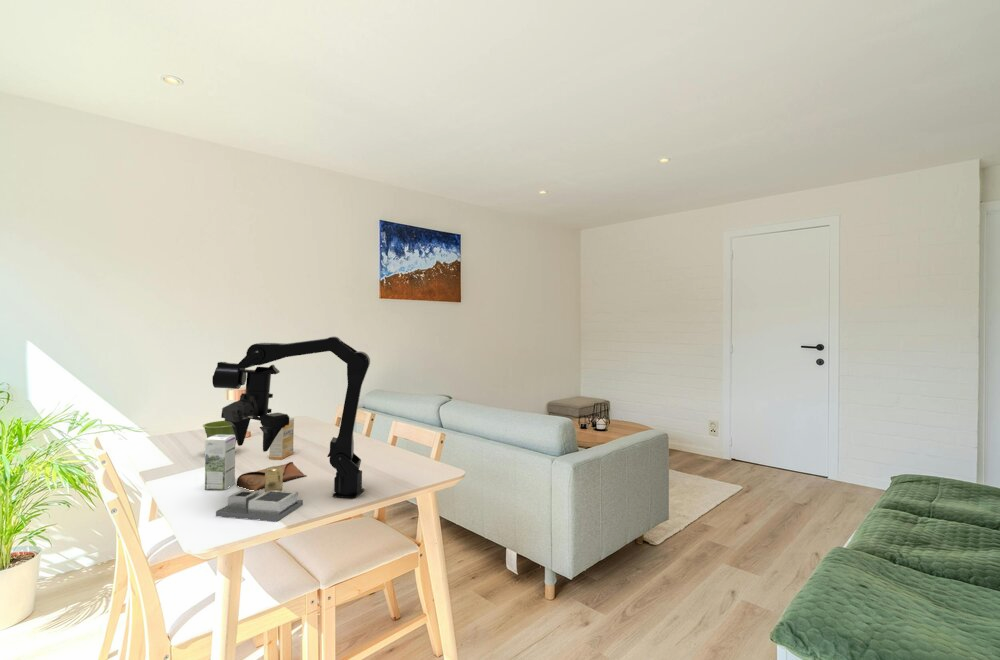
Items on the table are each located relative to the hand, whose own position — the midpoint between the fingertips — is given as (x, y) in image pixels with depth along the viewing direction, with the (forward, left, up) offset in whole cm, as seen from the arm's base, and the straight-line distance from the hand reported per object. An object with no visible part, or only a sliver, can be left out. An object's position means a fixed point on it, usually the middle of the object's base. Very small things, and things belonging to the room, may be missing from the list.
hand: (252, 448), depth 125 cm
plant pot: (+38, -36, -14) cm, 54 cm away
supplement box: (+17, -39, -14) cm, 45 cm away
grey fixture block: (-7, +6, -14) cm, 16 cm away
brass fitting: (-3, -5, -14) cm, 15 cm away
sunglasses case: (+3, -15, -14) cm, 21 cm away
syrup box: (+15, -7, -14) cm, 21 cm away
